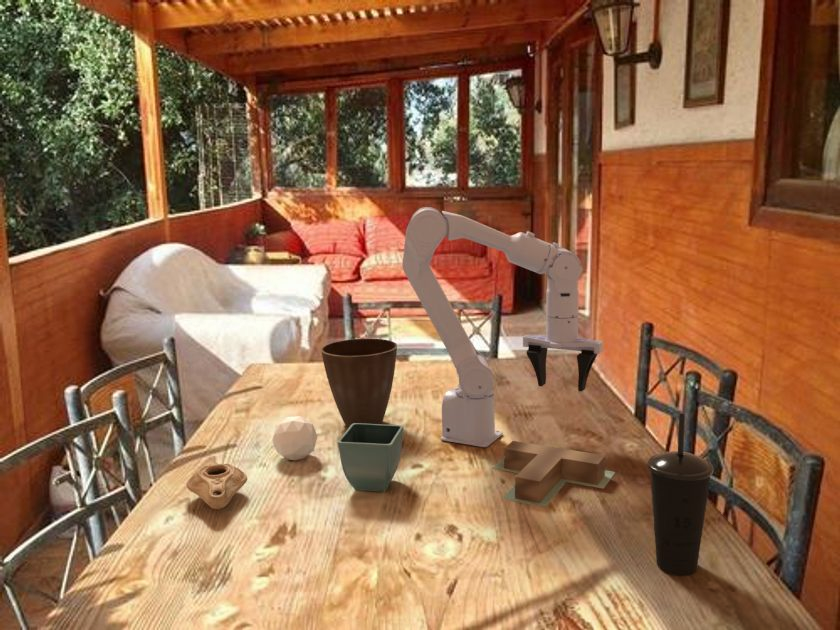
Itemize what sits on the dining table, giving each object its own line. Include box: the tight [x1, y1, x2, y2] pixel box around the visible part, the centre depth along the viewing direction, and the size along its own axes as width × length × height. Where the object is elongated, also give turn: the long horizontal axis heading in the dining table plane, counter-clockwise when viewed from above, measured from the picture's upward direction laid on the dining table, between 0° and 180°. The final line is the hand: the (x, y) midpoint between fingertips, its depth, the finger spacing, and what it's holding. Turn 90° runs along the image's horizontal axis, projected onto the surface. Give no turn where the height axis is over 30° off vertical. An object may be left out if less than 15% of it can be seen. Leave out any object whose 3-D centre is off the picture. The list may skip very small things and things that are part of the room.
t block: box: [503, 440, 606, 503], centre depth 120 cm, size 16×14×4 cm
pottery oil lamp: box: [185, 462, 248, 510], centre depth 116 cm, size 9×12×7 cm
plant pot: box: [320, 337, 398, 429], centre depth 149 cm, size 15×15×16 cm
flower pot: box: [337, 423, 404, 493], centre depth 120 cm, size 9×9×9 cm
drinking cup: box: [647, 413, 714, 577], centre depth 93 cm, size 8×8×20 cm
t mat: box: [492, 457, 616, 508], centre depth 121 cm, size 19×17×1 cm
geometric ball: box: [272, 415, 318, 461], centre depth 133 cm, size 8×8×8 cm
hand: (561, 387), depth 139 cm, fingers open, 7 cm apart
